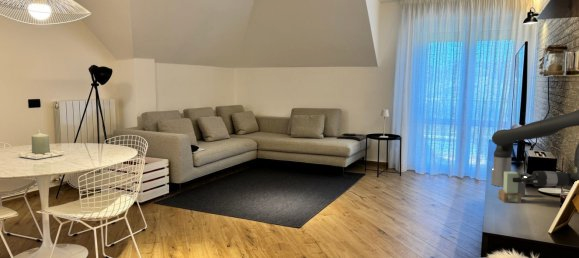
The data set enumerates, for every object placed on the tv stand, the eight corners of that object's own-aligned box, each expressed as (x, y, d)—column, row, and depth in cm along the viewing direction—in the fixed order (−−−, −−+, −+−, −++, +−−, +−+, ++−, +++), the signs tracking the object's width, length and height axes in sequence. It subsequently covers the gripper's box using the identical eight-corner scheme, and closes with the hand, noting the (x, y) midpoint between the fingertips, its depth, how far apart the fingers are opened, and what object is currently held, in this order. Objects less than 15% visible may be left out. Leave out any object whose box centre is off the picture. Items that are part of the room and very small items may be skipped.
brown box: (504, 203, 201) (504, 193, 200) (498, 198, 209) (498, 189, 208) (521, 203, 199) (521, 193, 199) (514, 199, 207) (515, 189, 207)
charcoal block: (514, 196, 211) (515, 178, 210) (511, 194, 216) (511, 176, 215) (524, 196, 210) (525, 178, 209) (520, 194, 215) (521, 176, 214)
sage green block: (506, 192, 201) (507, 173, 200) (503, 190, 206) (503, 171, 205) (517, 193, 200) (518, 173, 199) (513, 190, 205) (514, 171, 204)
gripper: (538, 168, 206) (504, 168, 208) (551, 174, 192) (515, 173, 194) (537, 182, 206) (504, 182, 209) (550, 189, 192) (514, 188, 195)
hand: (509, 178), depth 202 cm, fingers open, 8 cm apart
